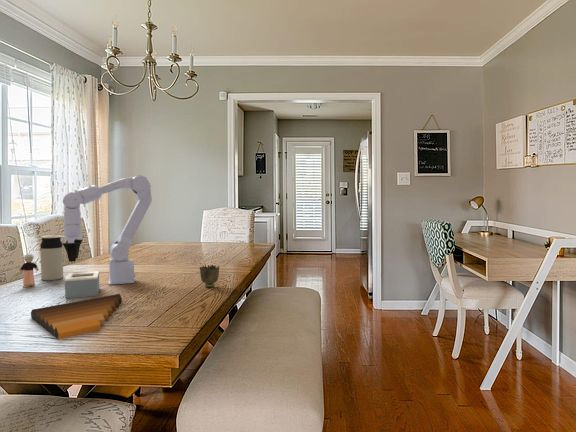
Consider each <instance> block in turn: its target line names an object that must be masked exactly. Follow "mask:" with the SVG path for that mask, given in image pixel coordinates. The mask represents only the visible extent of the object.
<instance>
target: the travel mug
mask: <svg viewBox="0 0 576 432" xmlns="http://www.w3.org/2000/svg"><path fill="white" fill-rule="evenodd" d="M61 236H62V235H61V234H55V235H54V234H53V235H52V234H51V235H50V234H49V235H42V236H40V239H41V243H40V244H39V245H40V246H39V247H40V270H41V271H40V274H41V280H42V281H47V280H48V281H57V280H61V279H63V278H64V255H63V251H64V250H63V247H64V246H63V242H62V241H61V239H62V238H61Z"/></svg>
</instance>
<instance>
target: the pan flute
mask: <svg viewBox="0 0 576 432" xmlns="http://www.w3.org/2000/svg"><path fill="white" fill-rule="evenodd" d="M122 300H123V298H122V295H121V294H120V293H117V294H112V295H106V296H101V297H94V298H89V299H84V300H78V301H72V302H67V303H62V304H56V305H50V306H44V307H39V308H34V309H31V312H30V319H32V320H33V321H34V322H35V323H36V324H38V325H39V326H41V327H42V328H43V329H44V330H46V332H48V333H49V334H51V336H54V337H55V338H56V339H57V340H62V339H65V338H71V337H74V336H79V335H82V334H87V333H91V332H96V331H100V330H101V326H103V325H105V322H106V321H108V320H109V315H110V316H113V312H115V311H116V308H119V304H122V302H123V301H122Z"/></svg>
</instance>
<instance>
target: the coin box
mask: <svg viewBox="0 0 576 432" xmlns="http://www.w3.org/2000/svg"><path fill="white" fill-rule="evenodd" d="M64 291H65V294H64V296H65V299H73V298H83V297H84V298H85V297H95V296H96V297H97V296H98V295H99V292H100V271H98V270H96V271H95V270H94V271H85V272H84V271H83V272H82V271H78V272H69V273H68V274H67V275H66V277H65V279H64Z"/></svg>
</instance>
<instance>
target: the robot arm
mask: <svg viewBox="0 0 576 432" xmlns="http://www.w3.org/2000/svg"><path fill="white" fill-rule="evenodd" d="M148 179H149V178H147V177H146V176H144V175H141V174H140V175H136V176H135V175H134V176H129V177H125V178H120V179H117V180H115V181H112V182H109V183H107V184H104V185H101V186H97V185H95V184H93V185H91V184H88V185H86V187H84V188H79V189H75V190H73V191H74V192H73V191H72V192H69V193H67V194H65V195H64V196H63V199H62V204H63V205H64V206H63V235H61V239H65V240H66V241H65V242H62V247H64V249H65V251H66V255H67V259H68V262H69V263H70V262H71V263H72V262H73V263H74V262H76V261H77V259H78V258H79V255H80V254H79V253H80V248H81V244H82V242H83V239H82V238H83V235H82V218H81V215H82V213H81V208H80V207H81V206H80V205H85V204H88V203H91V202H95V201H97V200H100V199H101V197H102V195H104V194H107V193H111V192H113V191H117V190H119V189H127V190H128V189H130V190H132V192H133V193H134V194H135V197H136V198H137V202H136V204H135V206H134V208H133V209H132V212H131V214H130V215H129V217H128V219H127V221H126V223H125V225H124V227H123V228H122V231H121V233H120V235H119V236H118V237H117V238H116V240H115V241H114V242H113V243H112V244H111V245H110V247H109V249H108V252H109V255H110V258H109V260H108V262H109V263H108V265H109V266H108V267H109V272H108V273H109V279H108V285H109V286H110V285H120V284H121V285H122V284H134V283H135V278H136V273H135V264H134V263H135V262H134V261H135V260H134V259H129V252H130V251H129V250H130V248H131V243H132V240H133V239H134V236H135V234H136V233H137V230H138V228H139V227H140V225H141V223H142V221H143V220H144V217H145V215H146V213H147V211H148V209H149V208H150V205H151V203H152V192H151V191H152V190H151V189H152V185H151V183H150V181H149V180H148Z"/></svg>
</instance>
